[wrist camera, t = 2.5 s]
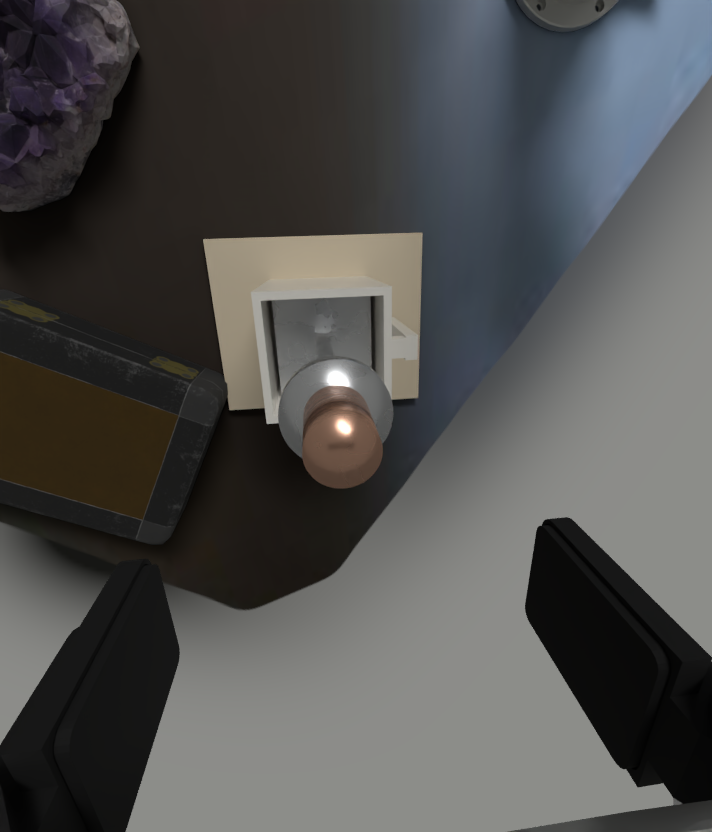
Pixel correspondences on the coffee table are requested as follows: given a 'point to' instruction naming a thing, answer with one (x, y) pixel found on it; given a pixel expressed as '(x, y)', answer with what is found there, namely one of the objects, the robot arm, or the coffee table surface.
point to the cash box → (99, 423)
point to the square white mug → (305, 279)
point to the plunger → (331, 388)
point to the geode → (56, 92)
